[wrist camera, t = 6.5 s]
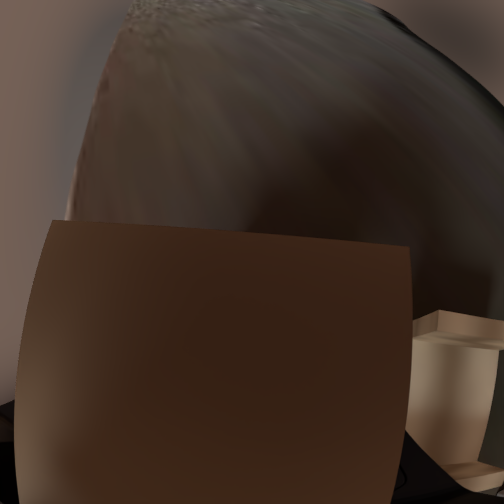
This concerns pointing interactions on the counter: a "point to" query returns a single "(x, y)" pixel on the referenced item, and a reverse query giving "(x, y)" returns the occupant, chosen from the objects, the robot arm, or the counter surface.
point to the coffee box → (501, 493)
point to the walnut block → (212, 368)
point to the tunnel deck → (455, 392)
